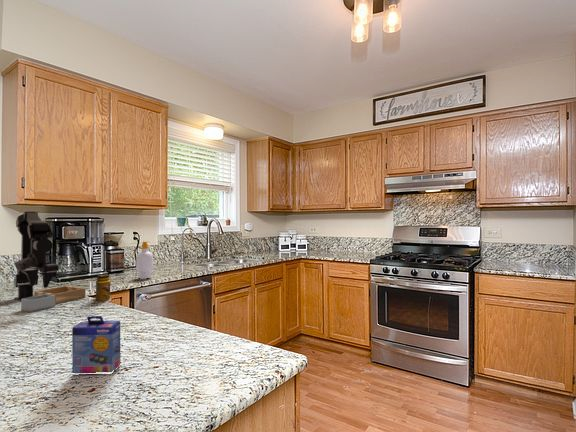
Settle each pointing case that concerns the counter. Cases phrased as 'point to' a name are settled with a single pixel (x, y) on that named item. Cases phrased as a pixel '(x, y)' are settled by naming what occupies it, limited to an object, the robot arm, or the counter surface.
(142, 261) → the soap bottle
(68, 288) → the big crate
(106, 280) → the condiment
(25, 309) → the small crate
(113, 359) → the ink cartridge box
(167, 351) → the counter surface
